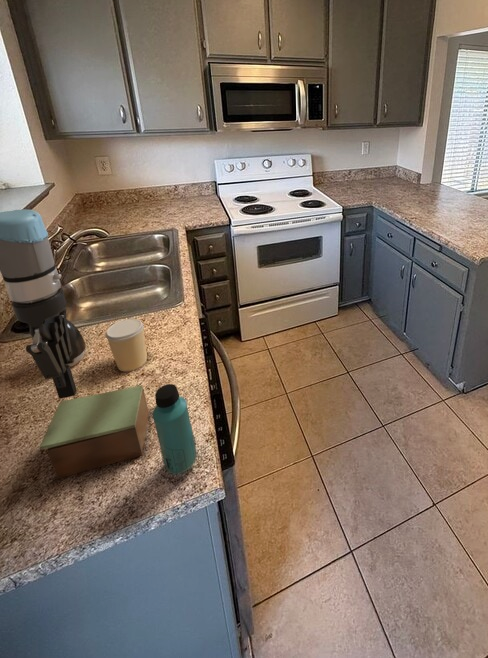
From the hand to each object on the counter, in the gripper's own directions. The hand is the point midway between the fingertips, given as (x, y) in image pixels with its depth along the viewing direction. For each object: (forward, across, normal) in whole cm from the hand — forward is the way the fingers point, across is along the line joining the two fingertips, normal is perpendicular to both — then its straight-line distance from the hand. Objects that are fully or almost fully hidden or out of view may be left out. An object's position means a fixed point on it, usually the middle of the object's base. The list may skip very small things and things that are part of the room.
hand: (68, 394), depth 73 cm
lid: (+7, 0, -4) cm, 8 cm away
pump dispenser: (+16, +33, +12) cm, 39 cm away
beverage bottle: (+15, -11, -20) cm, 28 cm away
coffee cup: (+15, +27, -6) cm, 32 cm away
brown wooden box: (+15, 0, -4) cm, 16 cm away
